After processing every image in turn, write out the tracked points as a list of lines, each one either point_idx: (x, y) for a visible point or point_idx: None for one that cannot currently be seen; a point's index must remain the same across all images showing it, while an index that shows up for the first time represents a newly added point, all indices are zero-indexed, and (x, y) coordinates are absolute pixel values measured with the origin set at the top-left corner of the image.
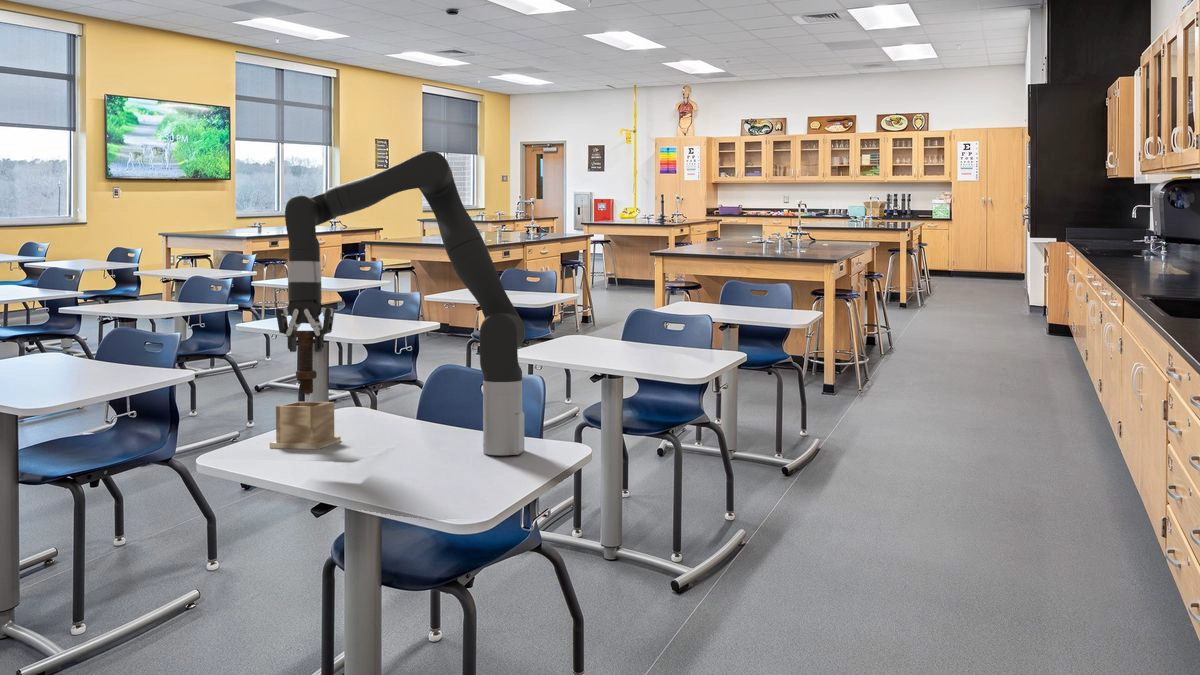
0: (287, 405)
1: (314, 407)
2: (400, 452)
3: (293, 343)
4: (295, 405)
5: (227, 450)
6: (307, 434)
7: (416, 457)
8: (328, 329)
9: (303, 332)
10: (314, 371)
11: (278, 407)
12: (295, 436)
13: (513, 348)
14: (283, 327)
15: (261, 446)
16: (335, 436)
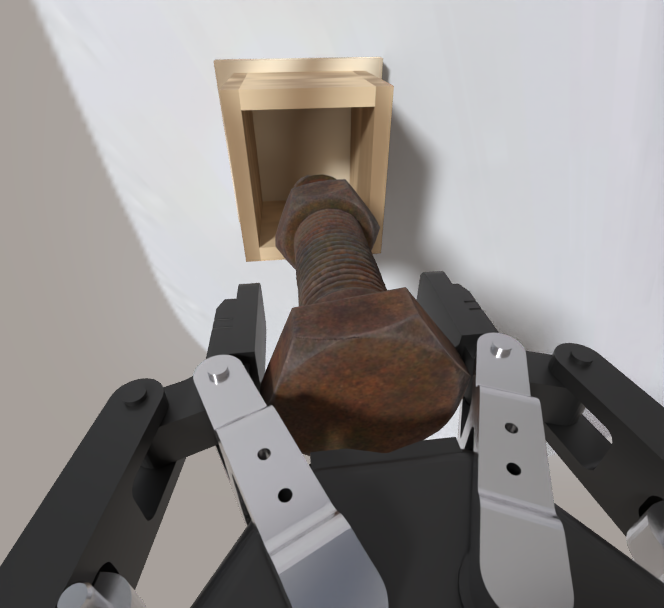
0: (254, 210)
1: (380, 251)
2: (570, 215)
3: (262, 351)
4: (246, 145)
5: (163, 264)
6: None
7: (600, 262)
8: (583, 405)
9: (383, 448)
10: (375, 240)
11: (255, 259)
12: None
13: None
14: (175, 482)
15: (198, 195)
16: (365, 61)
